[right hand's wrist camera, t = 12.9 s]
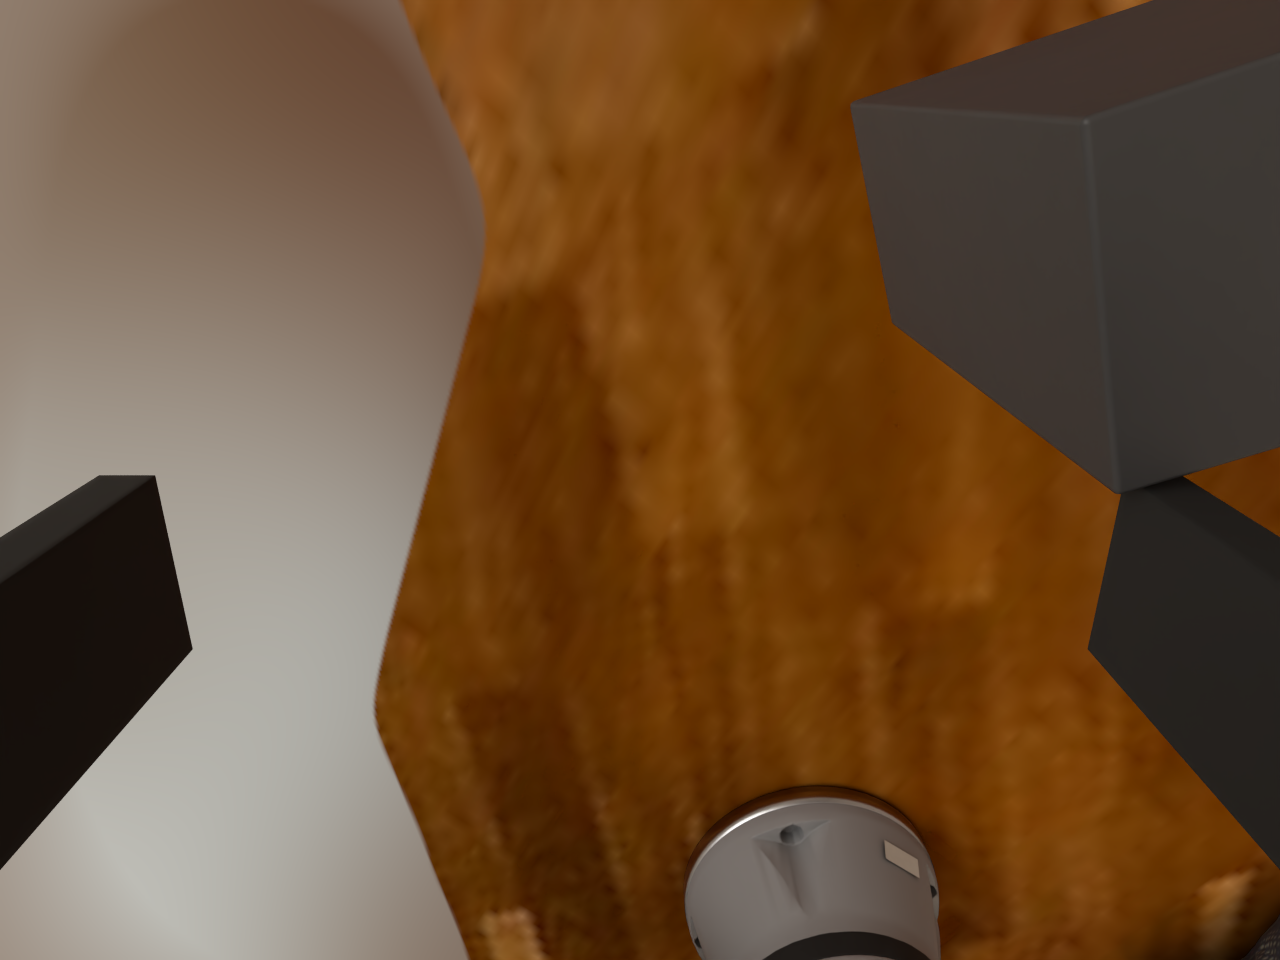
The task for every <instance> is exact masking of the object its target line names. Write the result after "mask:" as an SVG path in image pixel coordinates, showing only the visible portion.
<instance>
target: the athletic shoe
mask: <svg viewBox="0 0 1280 960" xmlns="http://www.w3.org/2000/svg"><path fill="white" fill-rule="evenodd" d="M1241 960H1280V914H1279V916H1278V918H1277V920H1276V921H1275V922H1274V923H1273V924H1272V925H1271V927H1270V928H1269V929H1268V930H1267V931H1266V932H1265V933H1264V934H1263V935H1262V936H1261V937H1260V939H1259V940H1258V942H1257V943H1256V945H1255V946H1254V947H1253V948H1252V949H1251V951H1250V952H1249V953H1248V954H1247V955H1246V956H1245V957H1244V958H1242V959H1241Z"/></svg>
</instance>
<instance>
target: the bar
mask: <svg viewBox="0 0 1280 960" xmlns="http://www.w3.org/2000/svg"><path fill="white" fill-rule="evenodd" d="M850 108H851V113H852V118H853V123H854V128H855V133H856V139H857V144H858V149H859V154H860V159H861V164H862V169H863V175H864V180H865V185H866V190H867V195H868V200H869V206H870V211H871V216H872V221H873V226H874V231H875V236H876V242H877V247H878V252H879V257H880V262H881V267H882V272H883V278H884V283H885V288H886V293H887V298H888V303H889V309H890V314H891V319H892V322H893V324H894V325H895V326H897V327H898V328H899V329H901V330H902V331H903V332H905V333H906V334H907V335H909V336H910V337H911V338H912V339H914V340H915V341H916V342H918V343H919V344H920V345H922V346H923V347H924V348H926V349H927V350H928V351H929V352H931V353H932V354H933V355H935V356H936V357H937V358H939V359H940V360H941V361H943V362H944V363H945V364H946V365H948V366H949V367H950V368H952V369H953V370H954V371H956V372H957V373H958V374H960V375H961V376H962V377H963V378H965V379H966V380H967V381H969V382H970V383H971V384H973V385H974V386H975V387H977V388H978V389H979V390H981V391H982V392H983V393H984V394H986V395H987V396H988V397H990V398H991V399H992V400H994V401H995V402H996V403H998V404H999V405H1000V406H1001V407H1003V408H1004V409H1005V410H1007V411H1008V412H1009V413H1011V414H1012V415H1013V416H1015V417H1016V418H1017V419H1018V420H1020V421H1021V422H1022V423H1024V424H1025V425H1026V426H1028V427H1029V428H1030V429H1032V430H1033V431H1034V432H1035V433H1037V434H1038V435H1039V436H1041V437H1042V438H1043V439H1045V440H1046V441H1047V442H1049V443H1050V444H1051V445H1052V446H1054V447H1055V448H1056V449H1058V450H1059V451H1060V452H1062V453H1063V454H1064V455H1066V456H1067V457H1068V458H1069V459H1071V460H1072V461H1073V462H1075V463H1076V464H1077V465H1079V466H1080V467H1081V468H1083V469H1084V470H1085V471H1087V472H1088V473H1089V474H1090V475H1092V476H1093V477H1094V478H1096V479H1097V480H1098V481H1100V482H1101V483H1102V484H1104V485H1105V486H1106V487H1107V488H1109V489H1110V490H1111V491H1113V492H1114V493H1116V494H1124V493H1127V492H1130V491H1134V490H1137V489H1141V488H1144V487H1147V486H1151V485H1154V484H1157V483H1161V482H1164V481H1167V480H1171V479H1174V478H1177V477H1181V476H1184V475H1187V474H1191V473H1194V472H1197V471H1201V470H1204V469H1207V468H1211V467H1214V466H1218V465H1221V464H1224V463H1228V462H1231V461H1234V460H1238V459H1241V458H1244V457H1248V456H1251V455H1254V454H1258V453H1261V452H1264V451H1268V450H1271V449H1274V448H1278V447H1280V0H1153V1H1150V2H1147V3H1144V4H1141V5H1138V6H1135V7H1132V8H1129V9H1126V10H1123V11H1120V12H1117V13H1114V14H1111V15H1108V16H1105V17H1102V18H1100V19H1097V20H1094V21H1091V22H1088V23H1085V24H1082V25H1079V26H1076V27H1073V28H1070V29H1067V30H1064V31H1061V32H1058V33H1055V34H1052V35H1049V36H1046V37H1043V38H1040V39H1037V40H1034V41H1031V42H1028V43H1025V44H1022V45H1019V46H1017V47H1014V48H1011V49H1008V50H1005V51H1002V52H999V53H996V54H993V55H990V56H987V57H984V58H981V59H978V60H975V61H972V62H969V63H966V64H963V65H960V66H957V67H954V68H951V69H948V70H945V71H942V72H939V73H937V74H934V75H931V76H928V77H925V78H922V79H919V80H916V81H913V82H910V83H907V84H904V85H901V86H898V87H895V88H892V89H889V90H886V91H883V92H880V93H877V94H874V95H871V96H868V97H865V98H862V99H859V100H857V101H854V102H853V103H851V107H850Z"/></svg>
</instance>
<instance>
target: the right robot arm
mask: <svg viewBox="0 0 1280 960" xmlns="http://www.w3.org/2000/svg"><path fill="white" fill-rule="evenodd" d="M191 650H192V644H191V639H190V635H189V630H188V625H187V621H186V616H185V612H184V607H183V602H182V598H181V593H180V588H179V584H178V579H177V575H176V570H175V565H174V561H173V556H172V551H171V547H170V542H169V538H168V533H167V528H166V524H165V519H164V515H163V510H162V506H161V501H160V496H159V492H158V487H157V482H156V477H155V476H153V475H150V476H149V475H141V476H140V475H124V476H123V475H120V476H119V475H109V476H108V475H104V476H103V475H99V476H97V477H96V478H94V479H93V480H91V481H89V482H88V483H86V484H85V485H83V486H81V487H80V488H78V489H77V490H75V491H73V492H72V493H70V494H69V495H67V496H66V497H64V498H62V499H61V500H59V501H58V502H56V503H54V504H53V505H51V506H50V507H48V508H46V509H45V510H43V511H42V512H40V513H38V514H37V515H35V516H34V517H32V518H30V519H29V520H27V521H26V522H24V523H22V524H21V525H19V526H18V527H16V528H15V529H13V530H11V531H10V532H8V533H7V534H5V535H3V536H2V537H0V870H1V868H2V867H3V866H4V865H5V864H6V863H7V861H8V860H9V859H10V858H11V857H12V856H13V855H14V853H15V852H16V851H17V850H18V849H19V848H20V847H21V845H22V844H23V843H24V842H25V841H26V840H27V839H28V837H29V836H30V835H31V834H32V833H33V832H34V831H35V829H36V828H37V827H38V826H39V825H40V824H41V822H42V821H43V820H44V819H45V818H46V817H47V816H48V814H49V813H50V812H51V811H52V810H53V809H54V808H55V806H56V805H57V804H58V803H59V802H60V801H61V800H62V798H63V797H64V796H65V795H66V794H67V793H68V791H69V790H70V789H71V788H72V787H73V786H74V785H75V783H76V782H77V781H78V780H79V779H80V778H81V777H82V775H83V774H84V773H85V772H86V771H87V770H88V769H89V767H90V766H91V765H92V764H93V763H94V762H95V761H96V759H97V758H98V757H99V756H100V755H101V754H102V753H103V751H104V750H105V749H106V748H107V747H108V746H109V744H110V743H111V742H112V741H113V740H114V739H115V738H116V736H117V735H118V734H119V733H120V732H121V731H122V730H123V728H124V727H125V726H126V725H127V724H128V723H129V722H130V720H131V719H132V718H133V717H134V716H135V715H136V714H137V712H138V711H139V710H140V709H141V708H142V707H143V705H144V704H145V703H146V702H147V701H148V700H149V699H150V697H151V696H152V695H153V694H154V693H155V692H156V691H157V689H158V688H159V687H160V686H161V685H162V684H163V683H164V681H165V680H166V679H167V678H168V677H169V676H170V674H171V673H172V672H173V671H174V670H175V669H176V668H177V666H178V665H179V664H180V663H181V662H182V661H183V660H184V658H185V657H186V656H187V655H188V654H189V653H190V652H191ZM1088 650H1089V651H1090V652H1091V653H1092V655H1093V656H1094V657H1095V658H1096V659H1097V660H1098V661H1099V663H1100V664H1101V665H1102V666H1103V667H1104V668H1105V669H1106V671H1107V672H1108V673H1109V674H1110V675H1111V676H1112V678H1113V679H1114V680H1115V681H1116V682H1117V683H1118V684H1119V686H1120V687H1121V688H1122V689H1123V690H1124V691H1125V692H1126V694H1127V695H1128V696H1129V697H1130V698H1131V699H1132V700H1133V702H1134V703H1135V704H1136V705H1137V706H1138V707H1139V709H1140V710H1141V711H1142V712H1143V713H1144V714H1145V715H1146V717H1147V718H1148V719H1149V720H1150V721H1151V722H1152V723H1153V725H1154V726H1155V727H1156V728H1157V729H1158V730H1159V731H1160V733H1161V734H1162V735H1163V736H1164V737H1165V738H1166V740H1167V741H1168V742H1169V743H1170V744H1171V745H1172V746H1173V748H1174V749H1175V750H1176V751H1177V752H1178V753H1179V754H1180V756H1181V757H1182V758H1183V759H1184V760H1185V761H1186V762H1187V764H1188V765H1189V766H1190V767H1191V768H1192V769H1193V771H1194V772H1195V773H1196V774H1197V775H1198V776H1199V777H1200V779H1201V780H1202V781H1203V782H1204V783H1205V784H1206V785H1207V787H1208V788H1209V789H1210V790H1211V791H1212V792H1213V793H1214V795H1215V796H1216V797H1217V798H1218V799H1219V800H1220V801H1221V803H1222V804H1223V805H1224V806H1225V807H1226V808H1227V810H1228V811H1229V812H1230V813H1231V814H1232V815H1233V816H1234V818H1235V819H1236V820H1237V821H1238V822H1239V823H1240V824H1241V826H1242V827H1243V828H1244V829H1245V830H1246V831H1247V832H1248V834H1249V835H1250V836H1251V837H1252V838H1253V839H1254V841H1255V842H1256V843H1257V844H1258V845H1259V846H1260V847H1261V849H1262V850H1263V851H1264V852H1265V853H1266V854H1267V855H1268V857H1269V858H1270V859H1271V860H1272V861H1273V862H1274V863H1275V865H1276V866H1277V867H1278V868H1279V869H1280V537H1279V536H1277V535H1275V534H1274V533H1272V532H1271V531H1269V530H1267V529H1266V528H1264V527H1263V526H1261V525H1259V524H1258V523H1256V522H1255V521H1253V520H1252V519H1250V518H1248V517H1247V516H1245V515H1244V514H1242V513H1240V512H1239V511H1237V510H1236V509H1234V508H1232V507H1231V506H1229V505H1228V504H1226V503H1224V502H1223V501H1221V500H1220V499H1218V498H1216V497H1215V496H1213V495H1212V494H1210V493H1209V492H1207V491H1205V490H1204V489H1202V488H1201V487H1199V486H1197V485H1196V484H1194V483H1193V482H1191V481H1189V480H1188V479H1186V478H1185V477H1183V476H1181V477H1177V478H1174V479H1171V480H1167V481H1164V482H1161V483H1157V484H1154V485H1151V486H1147V487H1144V488H1141V489H1137V490H1134V491H1130V492H1127V493H1124V494H1121V497H1120V502H1119V507H1118V511H1117V516H1116V521H1115V525H1114V530H1113V534H1112V539H1111V544H1110V548H1109V553H1108V558H1107V562H1106V567H1105V571H1104V576H1103V581H1102V585H1101V590H1100V594H1099V599H1098V604H1097V608H1096V613H1095V618H1094V622H1093V627H1092V631H1091V636H1090V641H1089V645H1088ZM684 902H685V913H686V920H687V923H688V927H689V931H690V934H691V938H692V941H693V943H694V945H695V947H696V950H697V952H698V954H699V955H700V957H701V959H702V960H941V953H940V935H939V927H938V922H937V918H938V912H939V892H938V885H937V880H936V876H935V871H934V867H933V864H932V861H931V859H930V857H929V854H928V852H927V850H926V847H925V845H924V843H923V840H922V838H921V837H920V835H919V833H918V831H917V830H916V829H915V827H914V826H913V825H912V823H911V822H910V821H909V820H908V819H907V818H906V817H905V816H904V815H902V814H901V813H900V812H899V811H898V810H896V809H895V808H893V807H892V806H890V805H889V804H887V803H885V802H883V801H881V800H880V799H878V798H875V797H873V796H870V795H868V794H865V793H861V792H858V791H855V790H850V789H845V788H838V787H827V786H809V787H798V788H791V789H786V790H781V791H777V792H774V793H770V794H767V795H764V796H761V797H759V798H756V799H754V800H752V801H749V802H747V803H745V804H743V805H741V806H740V807H738V808H736V809H734V810H733V811H731V812H730V813H728V814H727V815H725V816H724V817H723V818H722V819H720V820H719V821H718V822H717V823H716V824H715V825H714V826H713V827H712V828H711V829H710V830H709V831H708V832H707V833H706V834H705V835H704V836H703V838H702V839H701V840H700V842H699V843H698V845H697V846H696V848H695V849H694V851H693V853H692V855H691V857H690V860H689V862H688V865H687V868H686V872H685V877H684Z"/></svg>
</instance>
